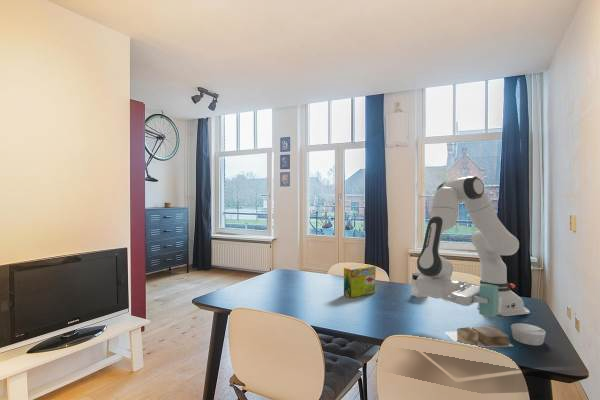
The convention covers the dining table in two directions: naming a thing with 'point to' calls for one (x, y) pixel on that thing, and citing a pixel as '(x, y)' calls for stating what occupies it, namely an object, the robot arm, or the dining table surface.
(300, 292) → the dining table surface
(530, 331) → the ramekin
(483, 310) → the teal block
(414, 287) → the jar
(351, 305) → the dining table surface
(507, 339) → the walnut base
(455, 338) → the blueprint board
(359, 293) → the fingerpaint box
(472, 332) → the oak cube
